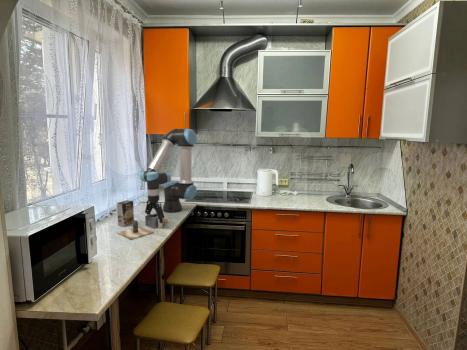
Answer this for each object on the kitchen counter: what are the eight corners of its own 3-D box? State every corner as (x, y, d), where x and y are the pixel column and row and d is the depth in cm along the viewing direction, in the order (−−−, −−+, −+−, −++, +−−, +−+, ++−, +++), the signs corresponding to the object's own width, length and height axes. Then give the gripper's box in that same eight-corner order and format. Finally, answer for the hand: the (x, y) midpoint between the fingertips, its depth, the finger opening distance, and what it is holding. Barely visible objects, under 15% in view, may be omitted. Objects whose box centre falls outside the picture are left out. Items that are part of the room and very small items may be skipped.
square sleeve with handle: (163, 220, 229) (162, 211, 228) (170, 223, 223) (170, 213, 222) (145, 225, 219) (145, 215, 218) (153, 228, 213) (152, 218, 212)
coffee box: (124, 227, 216) (122, 204, 214) (117, 225, 220) (116, 202, 217) (134, 223, 224) (133, 201, 221) (128, 221, 227) (127, 200, 225)
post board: (140, 227, 215) (139, 216, 214) (153, 233, 205) (153, 221, 203) (117, 233, 204) (117, 221, 202) (130, 240, 193) (130, 227, 192)
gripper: (138, 193, 221) (140, 222, 224) (159, 198, 204) (160, 230, 208) (148, 191, 226) (149, 220, 230) (168, 196, 210) (170, 227, 214)
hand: (154, 225), depth 219 cm, fingers open, 12 cm apart
